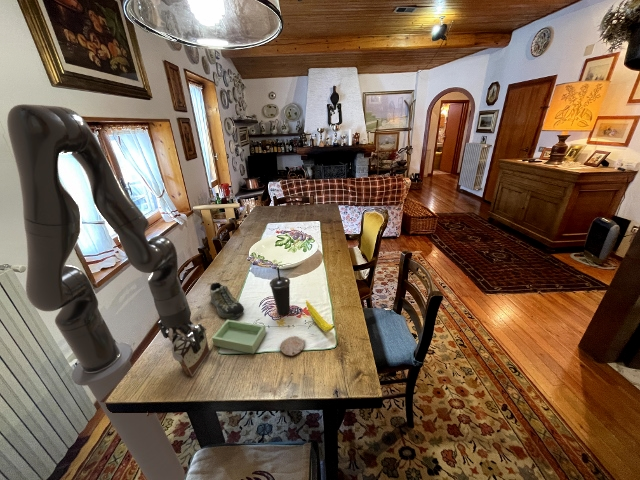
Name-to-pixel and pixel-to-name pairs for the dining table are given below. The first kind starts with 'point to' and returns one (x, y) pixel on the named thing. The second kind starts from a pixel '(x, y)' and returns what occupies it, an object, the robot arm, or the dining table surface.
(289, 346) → the flatbread
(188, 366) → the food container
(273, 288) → the drinking cup
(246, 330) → the holder
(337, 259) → the dining table surface
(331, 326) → the banana
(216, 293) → the hiking shoe
